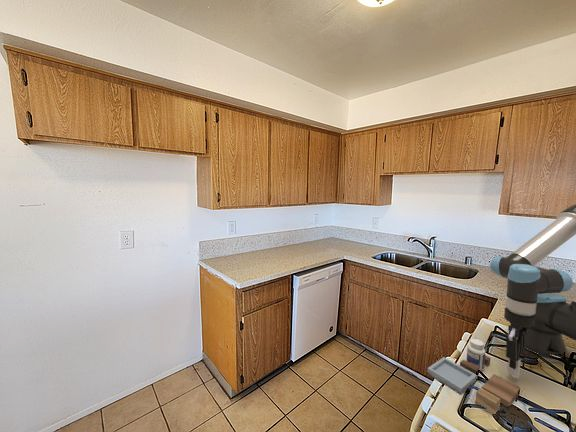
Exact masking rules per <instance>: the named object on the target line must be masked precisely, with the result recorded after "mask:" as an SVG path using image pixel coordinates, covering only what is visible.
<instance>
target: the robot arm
mask: <svg viewBox="0 0 576 432" xmlns="http://www.w3.org/2000/svg"><path fill="white" fill-rule="evenodd" d="M575 235H576V203H575V204H573V205H570V206H568V207H567V208H565V209H564V210H562V211H561V212H559V213H558V214H557V215H556V217H555V220H554V221H553V222H551V223H550V224H548V226H546V227H545V228H544V229H542V230H540V232H537V234H535V235H534V236H533V237H532V238H531V237H530V239H529V240H528V241H526V242H525V243H524V244H523V245H521V246H519V247H518V248H517V249H516V250H514V251H512V253H510V254H509V255H508V256H506V257H505V256H495V257H494V258H492V260H491V261H490V264H489V268H490V270H491V273H494V274H495V275H497V276H499V277H501V278H505V279H507V286H506V296H504V298H503V299H504V300H505V308H504V316H503V317H504V320H506V321H507V322H509V325H508V327H507V328H508V329H507V330H508V333H505V340H506V343H505V344H506V345H505V347H506V353H505V356H506V358H507V359H508V363H507V373H506V374H508V375H509V376H512V377H513V378H515V379H519V377H520V372H521V371H520V368H521V362H522V360H525V357H524V356H523V355H524V353H525V349H524V348H525V347H526V348H528V349H530V350H532V351H534V352H536V353H538V354H539V355H538V356H540V357H544V358H548V359H552V358H551V357H550V356H549V355H550V354H551V355H552V354H554V355H555V354H561V355H563V354H564V352H565V355H566V356H567V346H566V344H565V341H564V338H563V336H565V337H567V338H569V339H572V340H574V341H576V298H575V299H572V301H571V302H570V303H567V302H568V300H567V297H565V296H564V295H561V294H559V293H563V292H564V293H565V292H568V291H570V290H571V289H572V288H573V284H574V282H573V278H572V276H571V275H570V274H569V273H568V272H566V271H564V270H561V269H554V268H549V269H547V268H544V267H540V266H536V265H537V264H538V263H540V262H542V261H543V260H544V259H545V258H547V257H548V256H549V255H550V254H552V253H553V252H555V251H556V250H557V249H558V248H560V247H561V246H562V245H564V244H565V243H567V242H568V241H569V240H570V239H571V238H573V237H574V236H575Z"/></svg>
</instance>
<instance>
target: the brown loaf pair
mask: <svg viewBox="0 0 576 432" xmlns="http://www.w3.org/2000/svg"><path fill="white" fill-rule="evenodd" d="M481 388H482V389H484V390H486V391H488V392H489V393H491V394H493V395H495V396H496V397H498V398H500V403H503V404H505V405H507V406H510V405H511V406H512V404H513V403H514V402H515V401H516V399H517V398H516V395H517V393H518V391H519V390H520V392H519V395H520V393H521V387H520V386H519V385H517V384H515V383H513V382H511V381H509V380H507V379H504V378H503V377H500V376H498V375H496V374H494V373H493V375H492V376H491V377H490V378H489V379H488V380H487V381H486V382H485V383H484V384H483V385H482V386H481ZM515 398H516V399H515ZM511 406H510V407H511Z"/></svg>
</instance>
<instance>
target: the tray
mask: <svg viewBox="0 0 576 432" xmlns="http://www.w3.org/2000/svg"><path fill="white" fill-rule="evenodd" d="M427 374H428V375H429V376H431V377H433V378H434V379H436V380H438V381H439V382H441V383H442V384H444V385H445V386H446V387H448V388H450V389H452V390H453V391H455V392H457V393H458V394H459V395H462V394H463V393H464V392H466V391H467V390H468V389H469V388H470V387H471V386H472V385H473V384H474V383H476V382H477V381H476V379H477V380H478V375H476V374H474V373H472V372H470V371H469V370H467V369H465V368H463V367H461V366H460V364H457V363H456V362H454V361H451V360H450V359H448V358H447V357H445V356H443V357H442V358H440V359H439V360H437V361H436V362H434V363H433V364H431V365H429V366H428V367H427ZM475 381H476V382H475ZM470 385H471V386H470ZM469 386H470V387H469ZM468 387H469V388H468ZM467 388H468V389H467Z"/></svg>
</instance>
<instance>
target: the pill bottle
mask: <svg viewBox="0 0 576 432" xmlns="http://www.w3.org/2000/svg"><path fill="white" fill-rule="evenodd" d="M469 342H470V343H469V344H468V345H467V348H466V361H467V362H469V363H471V364H473V365H475V366H477V367H479V370H480V371H479V372H481V371H482V372H483V371H484V370H485V355H486V349H485V348H484V346H485V344H484V342H483V341H482V340H480V339H477V338H471V339H470V340H469Z"/></svg>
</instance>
